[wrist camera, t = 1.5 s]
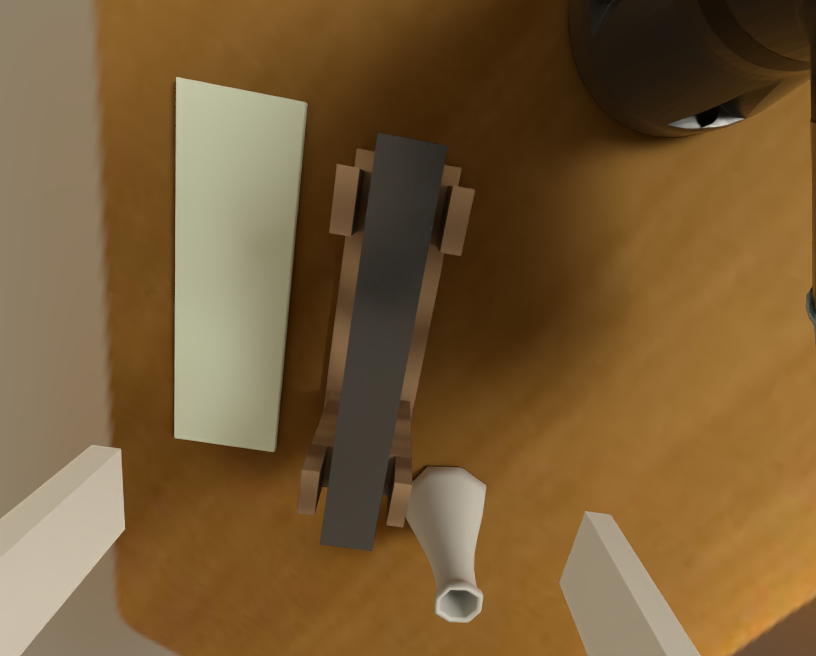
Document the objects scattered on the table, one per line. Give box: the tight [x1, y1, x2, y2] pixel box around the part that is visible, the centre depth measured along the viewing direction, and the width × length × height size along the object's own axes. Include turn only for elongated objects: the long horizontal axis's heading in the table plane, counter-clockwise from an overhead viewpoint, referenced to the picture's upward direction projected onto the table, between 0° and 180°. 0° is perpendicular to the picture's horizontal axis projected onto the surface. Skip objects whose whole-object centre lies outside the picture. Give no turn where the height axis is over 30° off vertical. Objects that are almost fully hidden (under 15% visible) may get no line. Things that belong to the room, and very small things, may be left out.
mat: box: [174, 77, 308, 452], centre depth 30 cm, size 26×8×1 cm, turn 170°
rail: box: [320, 132, 448, 551], centre depth 22 cm, size 22×3×3 cm, turn 170°
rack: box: [297, 148, 475, 527], centre depth 26 cm, size 22×7×10 cm, turn 170°
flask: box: [406, 466, 486, 623], centre depth 32 cm, size 7×7×10 cm
